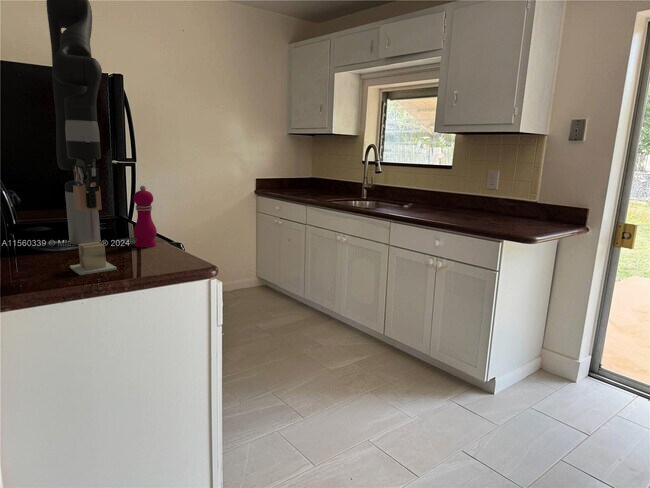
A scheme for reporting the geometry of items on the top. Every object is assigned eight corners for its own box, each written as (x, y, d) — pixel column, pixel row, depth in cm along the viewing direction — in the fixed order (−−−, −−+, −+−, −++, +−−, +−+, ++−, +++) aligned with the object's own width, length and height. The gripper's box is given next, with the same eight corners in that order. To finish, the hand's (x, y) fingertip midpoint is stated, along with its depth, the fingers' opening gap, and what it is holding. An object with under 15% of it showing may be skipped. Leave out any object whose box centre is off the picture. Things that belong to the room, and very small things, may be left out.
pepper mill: (161, 244, 151) (158, 185, 147) (151, 248, 144) (148, 186, 140) (140, 243, 152) (137, 184, 148) (129, 247, 145) (126, 186, 141)
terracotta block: (74, 208, 116) (73, 185, 115) (95, 207, 120) (93, 184, 118) (80, 210, 113) (78, 187, 111) (101, 209, 116) (100, 186, 115)
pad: (69, 267, 120) (69, 265, 120) (105, 262, 126) (105, 260, 126) (79, 275, 113) (79, 273, 113) (116, 269, 119) (116, 267, 119)
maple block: (80, 266, 120) (78, 244, 118) (100, 263, 123) (98, 242, 122) (85, 270, 116) (84, 247, 115) (106, 267, 119) (104, 245, 118)
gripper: (58, 139, 115) (64, 204, 119) (74, 139, 105) (80, 211, 108) (90, 140, 120) (95, 203, 124) (108, 140, 110) (113, 209, 114)
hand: (88, 206), depth 116 cm, fingers closed on terracotta block, 5 cm apart
